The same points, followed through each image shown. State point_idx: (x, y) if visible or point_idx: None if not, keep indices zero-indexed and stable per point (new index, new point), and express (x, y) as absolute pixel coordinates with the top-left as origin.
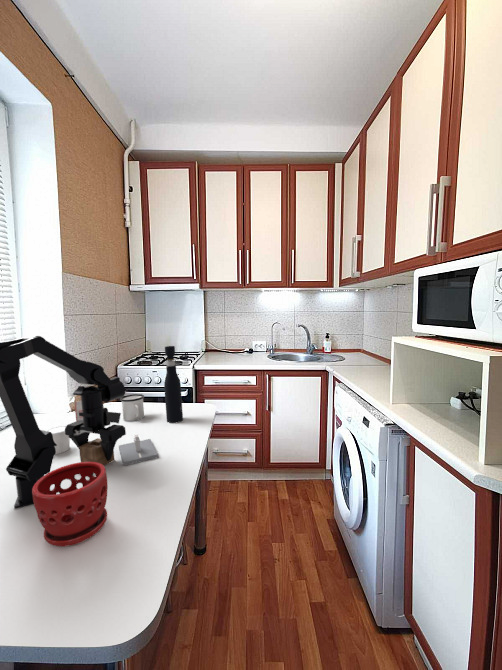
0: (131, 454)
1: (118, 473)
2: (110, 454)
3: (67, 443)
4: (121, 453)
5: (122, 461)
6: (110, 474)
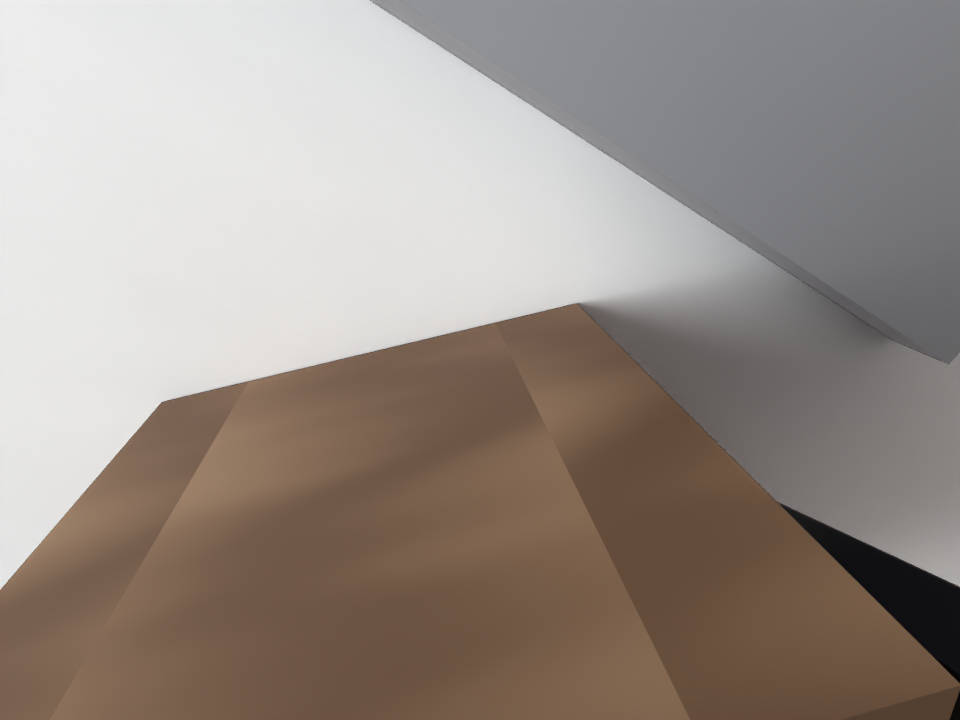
0: (917, 21)
1: (954, 481)
2: None
3: None
4: (619, 124)
5: (837, 298)
6: (869, 542)
